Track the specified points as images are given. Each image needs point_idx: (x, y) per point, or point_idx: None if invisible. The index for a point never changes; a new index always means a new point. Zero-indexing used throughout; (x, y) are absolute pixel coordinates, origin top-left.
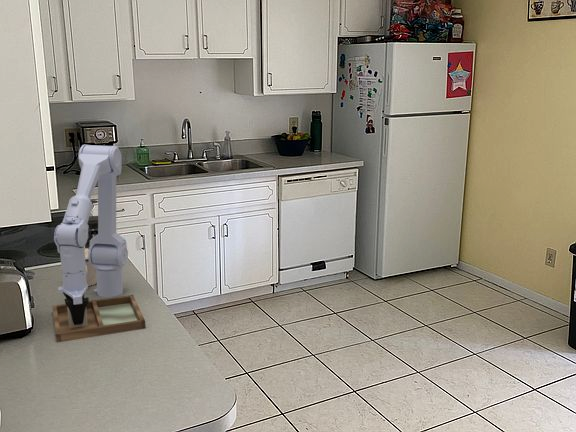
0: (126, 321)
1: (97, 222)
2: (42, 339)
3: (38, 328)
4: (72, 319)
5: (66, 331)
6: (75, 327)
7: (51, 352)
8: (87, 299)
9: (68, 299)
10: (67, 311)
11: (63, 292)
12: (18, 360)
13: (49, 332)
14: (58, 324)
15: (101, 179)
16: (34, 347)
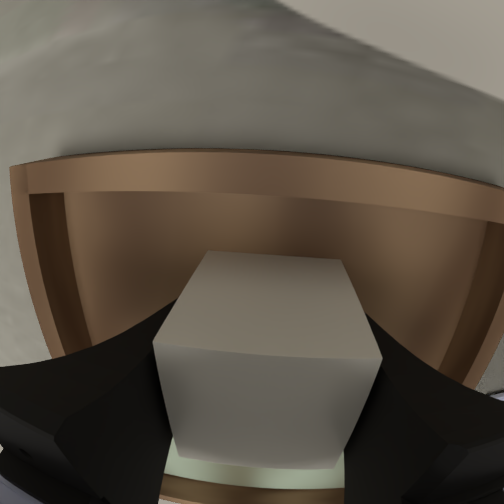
0: (192, 462)
1: None
2: (164, 66)
3: (360, 54)
4: (159, 310)
5: (28, 233)
6: None
7: (17, 133)
8: None
9: (46, 457)
10: (294, 310)
11: (471, 453)
12: (18, 12)
13: (259, 110)
14: (142, 184)
15: None
16: (85, 39)
